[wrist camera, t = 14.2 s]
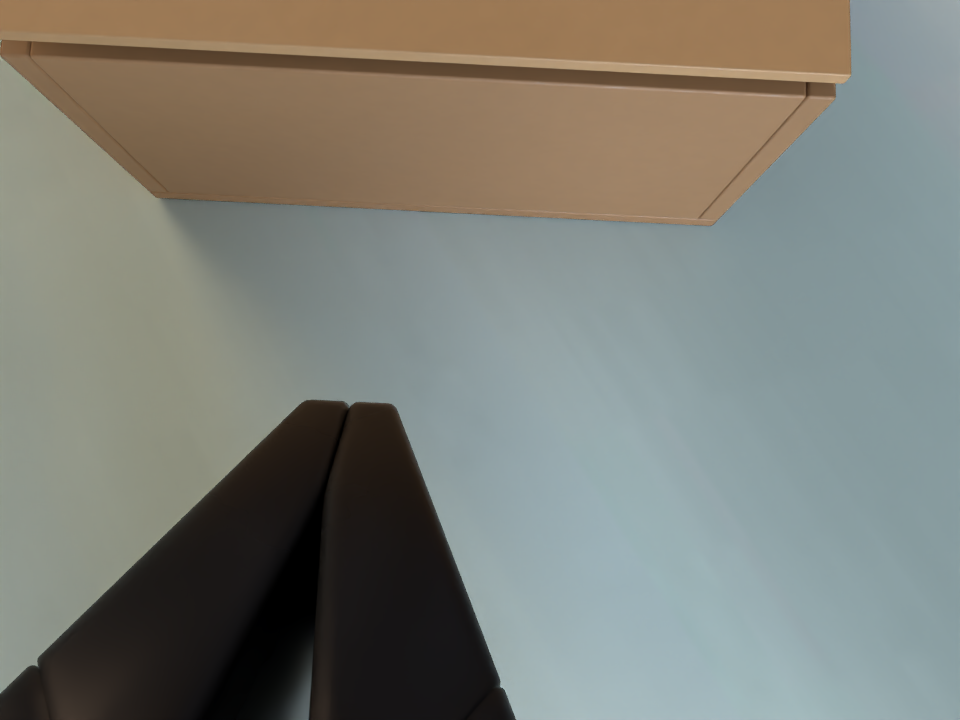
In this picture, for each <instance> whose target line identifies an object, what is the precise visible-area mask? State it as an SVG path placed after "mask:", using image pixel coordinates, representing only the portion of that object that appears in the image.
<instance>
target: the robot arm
mask: <svg viewBox="0 0 960 720" xmlns="http://www.w3.org/2000/svg"><path fill="white" fill-rule="evenodd" d="M37 662H38V667H37V666H34V665H31V666H29V667H27V668H26V669H25V670H24V671H23V672H22V673H21V674H20V675H19V676H18V677H17V678H16V679H15V680H14V681H13V682H12V683H11V684H10V685H9V686H8V687H7V688H6V689H5V690H4V691H3V692H1V693H0V720H516V719H515V716H514V713H513V711H512V708H511V706H510V703H509V700H508V698H507V695H506V693H505V690H504V689H503V688H501V687H500V678H499V676H498V673H497V670H496V668H495V665H494V662H493V660H492V657H491V655H490V652H489V649H488V647H487V644H486V642H485V639H484V636H483V634H482V631H481V628H480V626H479V623H478V621H477V618H476V615H475V613H474V610H473V607H472V605H471V602H470V600H469V597H468V594H467V592H466V589H465V586H464V584H463V581H462V579H461V576H460V573H459V571H458V568H457V565H456V563H455V560H454V558H453V555H452V552H451V550H450V547H449V544H448V542H447V539H446V537H445V534H444V531H443V529H442V526H441V523H440V521H439V518H438V516H437V513H436V510H435V508H434V505H433V502H432V500H431V497H430V495H429V492H428V489H427V487H426V484H425V481H424V479H423V476H422V474H421V471H420V468H419V466H418V463H417V460H416V458H415V455H414V453H413V450H412V447H411V445H410V442H409V439H408V437H407V434H406V432H405V429H404V426H403V424H402V421H401V419H400V416H399V413H398V411H397V409H396V407H395V406H394V405H392V404H389V403H370V402H356V403H354V404H352V405H351V406H350V408H349V406H348V404H347V403H345V402H343V401H330V400H306V401H304V402H302V403H301V404H300V405H299V406H298V407H297V408H295V409H294V410H293V411H292V412H291V413H290V414H289V415H288V416H287V417H286V418H285V419H284V420H283V421H282V422H281V423H280V424H279V425H278V426H277V427H276V428H275V429H274V430H273V431H272V432H271V433H270V434H269V435H268V436H267V437H266V438H264V439H263V440H262V441H261V442H260V443H259V444H258V445H257V446H256V447H255V448H254V449H253V450H252V451H251V452H250V453H249V454H248V455H247V456H246V457H245V458H244V459H243V460H242V461H241V462H240V463H239V464H238V465H237V466H236V467H235V468H233V469H232V470H231V471H230V472H229V473H228V474H227V475H226V476H225V477H224V478H223V479H222V480H221V481H220V482H219V483H218V484H217V485H216V486H215V487H214V488H213V489H212V490H211V491H210V492H209V493H208V494H207V495H206V496H205V497H204V498H202V499H201V500H200V501H199V502H198V503H197V504H196V505H195V506H194V507H193V508H192V509H191V510H190V511H189V512H188V513H187V514H186V515H185V516H184V517H183V518H182V519H181V520H180V521H179V522H178V523H177V524H176V525H175V526H174V527H173V528H172V529H170V530H169V531H168V532H167V533H166V534H165V535H164V536H163V537H162V538H161V539H160V540H159V541H158V542H157V543H156V544H155V545H154V546H153V547H152V548H151V549H150V550H149V551H148V552H147V553H146V554H145V555H144V556H143V557H142V558H141V559H139V560H138V561H137V562H136V563H135V564H134V565H133V566H132V567H131V568H130V569H129V570H128V571H127V572H126V573H125V574H124V575H123V576H122V577H121V578H120V579H119V580H118V581H117V582H116V583H115V584H114V585H113V586H112V587H111V588H110V589H108V590H107V591H106V592H105V593H104V594H103V595H102V596H101V597H100V598H99V599H98V600H97V601H96V602H95V603H94V604H93V605H92V606H91V607H90V608H89V609H88V610H87V611H86V612H85V613H84V614H83V615H82V616H81V617H80V618H79V619H77V620H76V621H75V622H74V623H73V624H72V625H71V626H70V627H69V628H68V629H67V630H66V631H65V632H64V633H63V634H62V635H61V636H60V637H59V638H58V639H57V640H56V641H55V642H54V643H53V644H52V645H51V646H50V647H49V648H48V649H46V650H45V651H44V652H43V653H42V654H41V655H40V656H39V658H38V660H37Z"/></svg>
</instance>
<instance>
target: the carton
mask: <svg viewBox="0 0 960 720" xmlns="http://www.w3.org/2000/svg"><path fill="white" fill-rule="evenodd" d="M0 55H1V57H2V58H3V59H4V60H5V61H7V62H8V63H9V64H10V65H11V66H12V67H13V68H14V69H15V70H16V71H18V72H19V73H20V74H21V75H22V76H23V77H24V78H25V79H26V80H27V81H29V82H30V83H31V84H32V85H33V86H34V87H35V88H36V89H37V90H38V91H39V92H41V93H42V94H43V95H44V96H45V97H46V98H47V99H48V100H49V101H50V102H52V103H53V104H54V105H55V106H56V107H57V108H58V109H59V110H60V111H61V112H63V113H64V114H65V115H66V116H67V117H68V118H69V119H70V120H71V121H72V122H74V123H75V124H76V125H77V126H78V127H79V128H80V129H81V130H82V131H83V132H85V133H86V134H87V135H88V136H89V137H90V138H91V139H92V140H93V141H94V142H96V143H97V144H98V145H99V146H100V147H101V148H102V149H103V150H104V151H105V152H107V153H108V154H109V155H110V156H111V157H112V158H113V159H114V160H115V161H116V162H117V163H119V164H120V165H121V166H122V167H123V168H124V169H125V170H126V171H127V172H128V173H130V174H131V175H132V176H133V177H134V178H135V179H136V180H137V181H138V182H139V183H141V184H142V185H143V186H144V187H145V188H146V189H147V190H148V191H150V193H152V194H153V195H154V196H155V197H157V198H172V199H192V200H212V201H231V202H251V203H271V204H291V205H310V206H330V207H350V208H370V209H389V210H409V211H429V212H449V213H468V214H488V215H508V216H528V217H547V218H567V219H587V220H607V221H626V222H646V223H666V224H686V225H705V226H712V225H713V224H714V223H715V222H716V221H717V220H718V219H719V218H720V217H721V216H722V215H723V214H724V213H725V212H726V211H727V210H728V209H729V208H730V207H731V206H732V205H733V204H734V203H735V202H736V201H737V200H738V199H739V198H740V197H741V196H742V194H743V193H744V192H745V191H746V190H747V189H748V188H749V187H750V186H751V185H752V184H753V183H754V182H755V181H756V180H757V179H758V178H759V177H760V176H761V175H762V174H763V173H764V172H765V171H766V170H767V169H768V168H769V167H770V166H771V165H772V164H773V163H774V162H775V161H776V160H777V159H778V157H779V156H780V155H781V154H782V153H783V152H784V151H785V150H786V149H787V148H788V147H789V146H790V145H791V144H792V143H793V142H794V141H795V140H796V139H797V138H798V137H799V136H800V135H801V134H802V133H803V132H804V131H805V130H806V129H807V128H808V127H809V126H810V125H811V124H812V123H813V121H814V120H815V119H816V118H817V117H818V116H819V115H820V114H821V113H822V112H823V111H824V110H825V109H826V108H827V107H828V106H829V105H830V104H831V103H832V102H833V101H834V100H835V98H836V88H835V83H822V82H802V81H783V80H764V79H745V78H726V77H707V76H688V75H669V74H649V73H630V72H611V71H592V70H573V69H554V68H535V67H516V66H496V65H477V64H458V63H439V62H420V61H401V60H382V59H363V58H343V57H324V56H305V55H286V54H267V53H248V52H229V51H210V50H190V49H171V48H152V47H133V46H114V45H95V44H76V43H57V42H37V41H18V40H2V41H1V48H0Z"/></svg>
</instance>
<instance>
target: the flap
mask: <svg viewBox="0 0 960 720" xmlns="http://www.w3.org/2000/svg"><path fill="white" fill-rule="evenodd" d="M0 40H18V41H37V42H57V43H76V44H95V45H114V46H133V47H152V48H171V49H190V50H210V51H229V52H248V53H267V54H286V55H305V56H324V57H343V58H363V59H382V60H401V61H420V62H439V63H458V64H477V65H496V66H516V67H535V68H554V69H573V70H592V71H611V72H630V73H649V74H669V75H688V76H707V77H726V78H745V79H764V80H783V81H802V82H822V83H841V84H843V83H845V82H846V81H847V80H848V79H849V77H850V76H851V40H850V0H0Z"/></svg>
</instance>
